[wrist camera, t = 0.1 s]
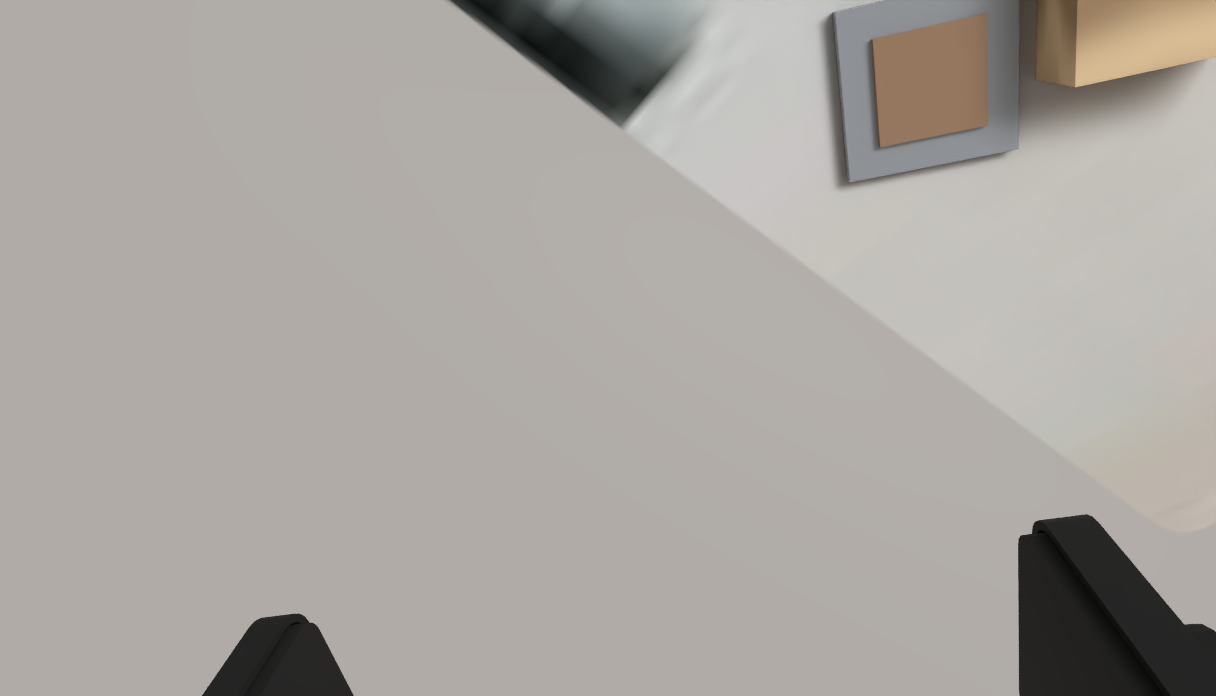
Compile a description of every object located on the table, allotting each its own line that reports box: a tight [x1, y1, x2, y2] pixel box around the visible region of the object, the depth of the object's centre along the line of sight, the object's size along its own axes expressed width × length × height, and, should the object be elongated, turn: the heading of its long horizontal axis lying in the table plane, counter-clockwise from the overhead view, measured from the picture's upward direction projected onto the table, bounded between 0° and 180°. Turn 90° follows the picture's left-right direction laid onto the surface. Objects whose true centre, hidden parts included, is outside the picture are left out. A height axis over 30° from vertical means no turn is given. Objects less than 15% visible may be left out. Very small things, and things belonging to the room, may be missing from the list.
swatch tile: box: [833, 0, 1019, 182], centre depth 35 cm, size 8×8×1 cm
